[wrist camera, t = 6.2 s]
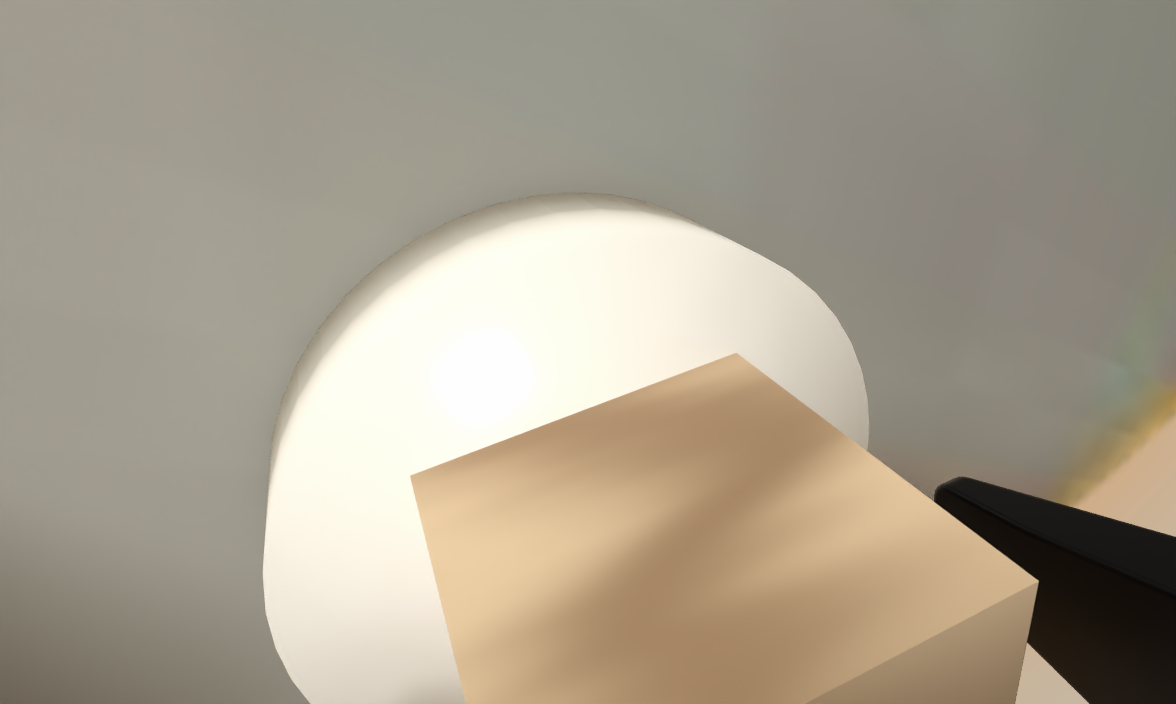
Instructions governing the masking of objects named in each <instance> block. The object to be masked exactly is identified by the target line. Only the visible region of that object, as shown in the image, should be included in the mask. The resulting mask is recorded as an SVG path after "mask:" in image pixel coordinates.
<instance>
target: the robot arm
mask: <svg viewBox="0 0 1176 704" xmlns="http://www.w3.org/2000/svg"><path fill="white" fill-rule="evenodd" d="M934 502H935V503H936V504H937V505H939V506H940V507H941V508H943V509H944V510H945V511H947V512H948V513H949V514H951V515H952V516H953V517H955V518H956V519H957V520H959V521H960V522H961V523H963V524H964V525H965V526H967V527H968V528H969V529H971V530H972V531H973V532H975V533H976V534H977V535H978V536H980V537H981V538H982V539H984V540H985V541H986V542H988V543H989V544H990V545H992V546H993V547H994V548H996V549H997V550H998V551H1000V552H1001V553H1002V554H1004V555H1005V556H1006V557H1008V558H1009V559H1010V560H1012V561H1013V562H1014V563H1016V564H1017V565H1018V566H1020V567H1021V568H1022V569H1024V570H1025V571H1026V572H1027V573H1029V574H1030V575H1031V576H1033V577H1034V578H1035V579H1037V580H1038V581H1039V583H1038V588H1037V593H1036V598H1035V603H1034V608H1033V613H1032V619H1031V624H1030V629H1029V634H1028V639H1027V643H1028V644H1029V645H1031V647H1032V648H1033V649H1034V650H1035V651H1036V652H1037V653H1038V654H1039V655H1041V657H1043V658H1044V659H1045V660H1046V661H1047V662H1048V663H1049V664H1050V665H1051V666H1052V667H1053V668H1054V669H1055V670H1056V671H1057V672H1058V673H1059V674H1060V675H1061V676H1062V677H1063V678H1064V679H1065V680H1066V681H1067V682H1068V683H1069V684H1070V685H1071V686H1072V687H1073V688H1074V689H1075V690H1076V691H1077V692H1078V693H1079V694H1080V695H1081V696H1082V697H1083V698H1084V699H1085V700H1086V701H1087V702H1088V703H1089V704H1176V537H1174V536H1171V535H1167V534H1164V533H1160V532H1156V531H1153V530H1149V529H1146V528H1142V527H1139V526H1135V525H1132V524H1129V523H1125V522H1122V521H1118V520H1115V519H1111V518H1108V517H1104V516H1100V515H1097V514H1094V513H1090V512H1087V511H1083V510H1080V509H1076V508H1073V507H1069V506H1066V505H1062V504H1059V503H1055V502H1052V501H1048V500H1045V499H1041V498H1038V497H1034V496H1031V495H1027V494H1024V493H1020V492H1017V491H1013V490H1010V489H1007V488H1003V487H1000V486H996V485H993V484H989V483H986V482H982V481H979V480H975V479H972V478H968V477H957V478H954V479H952V480H950V481H948V482H945V483H943V484H941V485H939V486H938V487H937V489H936V490H935V494H934Z"/></svg>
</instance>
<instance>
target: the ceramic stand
mask: <svg viewBox="0 0 1176 704" xmlns="http://www.w3.org/2000/svg"><path fill="white" fill-rule="evenodd" d="M734 353H737V354H739V355H740V356H741V357H743V358H744V359H745V360H747V361H748V362H749V363H751V364H752V365H753V366H755V367H756V368H757V369H759V370H760V371H761V372H763V373H764V374H765V375H767V376H768V377H769V378H771V379H772V380H773V381H775V382H776V383H777V384H778V385H780V386H781V387H782V388H784V389H785V390H786V391H788V392H789V393H790V394H792V395H793V396H794V397H796V398H797V399H798V400H800V401H801V402H802V403H804V404H805V405H806V406H808V407H809V408H810V409H812V410H813V411H814V412H816V413H817V414H818V415H820V416H821V417H822V418H824V419H825V420H826V421H827V422H829V423H830V424H831V425H833V426H834V427H835V428H837V429H838V430H839V431H841V432H842V433H843V434H845V435H846V436H847V437H849V438H850V439H851V440H853V441H854V442H855V443H857V444H858V445H859V446H861V447H862V448H863V449H865V450H866V451H867V452H868V439H869V415H868V399H867V394H866V389H865V384H864V379H863V375H862V370H861V367H860V365H859V362H858V359H857V357H856V354H855V352H854V349H853V346H852V344H851V342H850V340H849V338H848V336H847V335H846V333H845V331H844V330H843V328H842V326H841V325H840V323H839V321H838V319H837V318H836V316H835V315H834V314H833V313H832V311H831V310H830V309H829V308H828V307H827V306H826V304H825V303H824V302H823V301H822V300H821V299H820V297H819V296H818V295H817V294H816V293H815V292H814V291H813V290H812V289H810V288H809V287H808V286H807V285H806V284H804V283H803V282H802V281H801V280H799V279H798V278H797V277H796V276H794V275H793V274H792V273H791V272H790V271H788V270H786V269H784V268H783V267H781V266H779V265H777V264H775V263H774V262H772V261H770V260H768V259H766V258H765V257H763V256H761V255H759V254H757V253H755V252H753V251H751V250H749V249H747V248H745V247H743V246H741V245H739V244H737V243H735V242H733V241H731V240H729V239H727V238H725V237H723V236H721V235H719V234H717V233H715V232H714V231H712V230H710V229H708V228H706V227H704V226H702V225H700V224H698V223H696V222H694V221H692V220H690V219H688V218H686V217H684V216H682V215H680V214H678V213H676V212H673V211H670V210H667V209H665V208H662V207H659V206H656V205H653V204H651V203H648V202H645V201H641V200H636V199H631V198H625V197H620V196H615V195H610V194H592V193H561V194H550V195H539V196H531V197H526V198H522V199H518V200H513V201H509V202H504V203H500V204H496V205H492V206H489V207H486V208H484V209H481V210H478V211H476V212H473V213H470V214H468V215H465V216H462V217H459V218H457V219H454V220H452V221H450V222H448V223H446V224H444V225H442V226H440V227H438V228H437V229H435V230H433V231H431V232H429V233H427V234H425V235H423V236H421V237H419V238H418V239H416V240H414V241H413V242H411V243H410V244H408V245H407V246H405V247H404V248H403V249H401V250H400V251H398V252H397V253H395V254H394V255H393V256H391V257H390V258H388V259H387V260H386V261H384V262H383V263H381V264H380V265H378V266H377V267H376V268H375V269H374V270H373V271H372V272H371V273H370V274H369V275H368V276H367V277H365V278H364V279H363V280H362V281H361V282H360V283H359V284H358V285H357V286H356V287H355V288H353V289H352V290H351V291H350V292H349V293H348V294H347V295H346V296H345V297H344V299H343V300H342V301H341V302H340V303H339V305H338V306H337V307H336V308H335V309H334V311H333V312H332V313H331V314H330V315H329V317H328V318H327V319H326V320H325V321H324V323H323V324H322V325H321V326H320V328H319V329H318V331H317V332H316V334H315V336H314V337H313V339H312V340H311V342H310V344H309V345H308V347H307V349H306V350H305V352H304V353H303V355H302V357H301V358H300V360H299V361H298V363H297V366H296V368H295V370H294V373H293V375H292V377H291V380H290V382H289V384H288V386H287V389H286V391H285V393H284V396H283V398H282V402H281V405H280V409H279V413H278V417H277V421H276V424H275V428H274V432H273V438H272V449H271V459H270V469H269V485H268V501H267V516H266V532H265V548H264V563H263V584H264V596H265V608H266V615H267V619H268V623H269V626H270V630H271V633H272V637H273V640H274V644H275V647H276V650H277V652H278V654H279V656H280V658H281V660H282V662H283V664H284V666H285V668H286V670H287V672H288V674H289V676H290V677H291V679H292V681H293V682H294V683H295V685H296V686H297V687H298V688H299V690H300V691H301V692H302V693H303V695H304V696H305V697H306V699H307V700H308V701H309V702H310V704H466V702H465V698H464V694H463V690H462V686H461V682H460V678H459V674H458V670H457V665H456V661H455V657H454V653H453V649H452V645H451V641H450V637H449V633H448V629H447V625H446V621H445V617H444V613H443V609H442V604H441V600H440V596H439V592H438V588H437V584H436V580H435V576H434V572H433V568H432V564H431V560H430V556H429V552H428V548H427V544H426V539H425V535H424V531H423V527H422V523H421V519H420V515H419V511H418V507H417V503H416V499H415V495H414V491H413V487H412V483H411V478H410V475H413V474H415V473H418V472H421V471H423V470H426V469H429V468H431V467H434V466H437V465H439V464H442V463H445V462H447V461H450V460H453V459H455V458H458V457H461V456H463V455H466V454H469V453H471V452H474V451H476V450H479V449H482V448H484V447H487V446H490V445H492V444H495V443H498V442H500V441H503V440H506V439H508V438H511V437H514V436H516V435H519V434H522V433H524V432H527V431H530V430H532V429H535V428H538V427H540V426H543V425H545V424H548V423H551V422H553V421H556V420H559V419H561V418H564V417H567V416H569V415H572V414H575V413H577V412H580V411H583V410H585V409H588V408H591V407H593V406H596V405H599V404H601V403H604V402H607V401H609V400H612V399H614V398H617V397H620V396H622V395H625V394H628V393H630V392H633V391H636V390H638V389H641V388H644V387H646V386H649V385H652V384H654V383H657V382H660V381H662V380H665V379H668V378H670V377H673V376H676V375H678V374H681V373H683V372H686V371H689V370H691V369H694V368H697V367H699V366H702V365H705V364H707V363H710V362H713V361H715V360H718V359H721V358H723V357H726V356H729V355H731V354H734Z"/></svg>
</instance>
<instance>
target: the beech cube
mask: <svg viewBox="0 0 1176 704" xmlns="http://www.w3.org/2000/svg"><path fill="white" fill-rule="evenodd" d="M410 478H411V483H412V487H413V491H414V495H415V499H416V503H417V507H418V511H419V515H420V519H421V523H422V527H423V531H424V535H425V539H426V544H427V548H428V552H429V556H430V560H431V564H432V568H433V572H434V576H435V580H436V584H437V588H438V592H439V596H440V600H441V604H442V609H443V613H444V617H445V621H446V625H447V629H448V633H449V637H450V641H451V645H452V649H453V653H454V657H455V661H456V665H457V670H458V674H459V678H460V682H461V686H462V690H463V694H464V698H465V702H466V704H1015V701H1016V696H1017V691H1018V686H1019V680H1020V675H1021V670H1022V665H1023V659H1024V654H1025V649H1026V644H1027V639H1028V634H1029V629H1030V624H1031V619H1032V613H1033V608H1034V603H1035V598H1036V593H1037V588H1038V583H1039V581H1038V580H1037V579H1035V578H1034V577H1033V576H1031V575H1030V574H1029V573H1027V572H1026V571H1025V570H1024V569H1022V568H1021V567H1020V566H1018V565H1017V564H1016V563H1014V562H1013V561H1012V560H1010V559H1009V558H1008V557H1006V556H1005V555H1004V554H1002V553H1001V552H1000V551H998V550H997V549H996V548H994V547H993V546H992V545H990V544H989V543H988V542H986V541H985V540H984V539H982V538H981V537H980V536H978V535H977V534H976V533H975V532H973V531H972V530H971V529H969V528H968V527H967V526H965V525H964V524H963V523H961V522H960V521H959V520H957V519H956V518H955V517H953V516H952V515H951V514H949V513H948V512H947V511H945V510H944V509H943V508H941V507H940V506H939V505H937V504H936V503H935V502H933V501H932V500H931V499H929V498H928V497H927V496H926V495H924V494H923V493H922V492H920V491H919V490H918V489H916V488H915V487H914V486H912V485H911V484H910V483H908V482H907V481H906V480H904V479H903V478H902V477H900V476H899V475H898V474H896V473H895V472H894V471H892V470H891V469H890V468H888V467H887V466H886V465H884V464H883V463H882V462H880V461H879V460H878V459H877V458H875V457H874V456H873V455H871V454H870V453H869V452H867V451H866V450H865V449H863V448H862V447H861V446H859V445H858V444H857V443H855V442H854V441H853V440H851V439H850V438H849V437H847V436H846V435H845V434H843V433H842V432H841V431H839V430H838V429H837V428H835V427H834V426H833V425H831V424H830V423H829V422H827V421H826V420H825V419H824V418H822V417H821V416H820V415H818V414H817V413H816V412H814V411H813V410H812V409H810V408H809V407H808V406H806V405H805V404H804V403H802V402H801V401H800V400H798V399H797V398H796V397H794V396H793V395H792V394H790V393H789V392H788V391H786V390H785V389H784V388H782V387H781V386H780V385H778V384H777V383H776V382H775V381H773V380H772V379H771V378H769V377H768V376H767V375H765V374H764V373H763V372H761V371H760V370H759V369H757V368H756V367H755V366H753V365H752V364H751V363H749V362H748V361H747V360H745V359H744V358H743V357H741V356H740V355H739V354H737V353H734V354H731V355H729V356H726V357H723V358H721V359H718V360H715V361H713V362H710V363H707V364H705V365H702V366H699V367H697V368H694V369H691V370H689V371H686V372H683V373H681V374H678V375H676V376H673V377H670V378H668V379H665V380H662V381H660V382H657V383H654V384H652V385H649V386H646V387H644V388H641V389H638V390H636V391H633V392H630V393H628V394H625V395H622V396H620V397H617V398H614V399H612V400H609V401H607V402H604V403H601V404H599V405H596V406H593V407H591V408H588V409H585V410H583V411H580V412H577V413H575V414H572V415H569V416H567V417H564V418H561V419H559V420H556V421H553V422H551V423H548V424H545V425H543V426H540V427H538V428H535V429H532V430H530V431H527V432H524V433H522V434H519V435H516V436H514V437H511V438H508V439H506V440H503V441H500V442H498V443H495V444H492V445H490V446H487V447H484V448H482V449H479V450H476V451H474V452H471V453H469V454H466V455H463V456H461V457H458V458H455V459H453V460H450V461H447V462H445V463H442V464H439V465H437V466H434V467H431V468H429V469H426V470H423V471H421V472H418V473H415V474H413V475H410Z"/></svg>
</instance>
